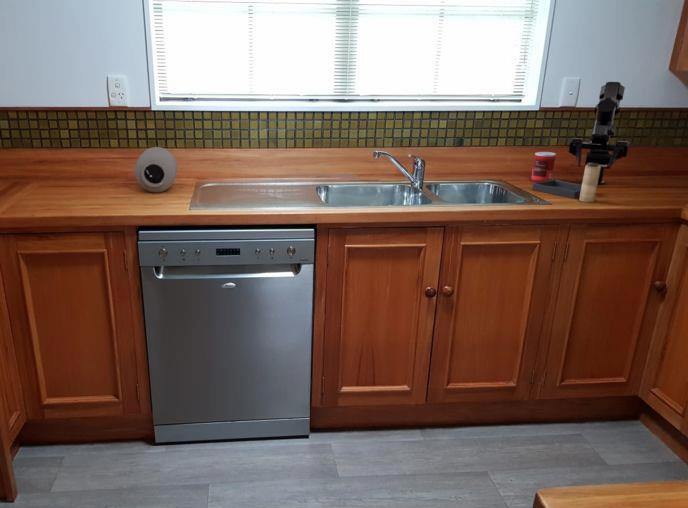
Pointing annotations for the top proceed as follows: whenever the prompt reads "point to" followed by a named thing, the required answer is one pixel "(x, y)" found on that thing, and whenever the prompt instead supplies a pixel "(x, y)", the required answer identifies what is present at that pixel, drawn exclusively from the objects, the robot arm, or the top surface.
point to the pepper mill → (590, 182)
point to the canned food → (543, 166)
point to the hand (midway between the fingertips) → (593, 166)
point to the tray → (559, 188)
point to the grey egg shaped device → (155, 169)
